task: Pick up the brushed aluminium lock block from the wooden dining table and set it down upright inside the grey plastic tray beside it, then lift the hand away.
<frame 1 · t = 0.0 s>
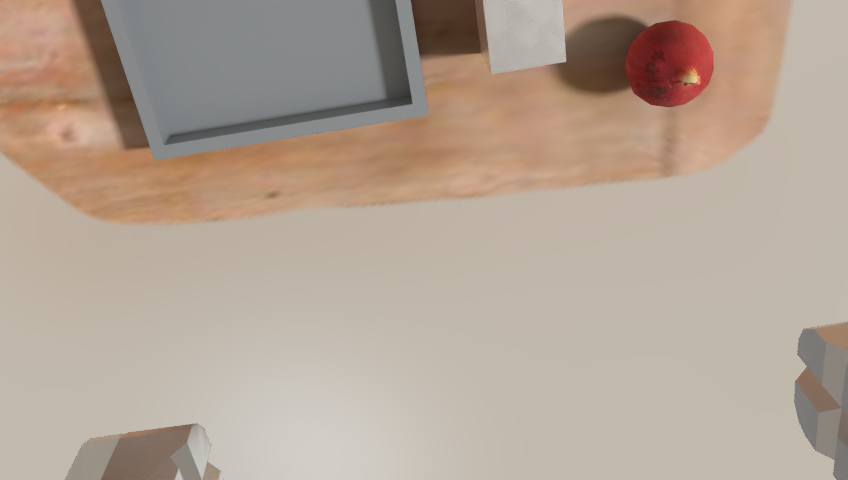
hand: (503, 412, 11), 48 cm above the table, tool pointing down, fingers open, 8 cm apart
onion: (651, 51, 57), on the table
tray: (272, 31, 55), on the table
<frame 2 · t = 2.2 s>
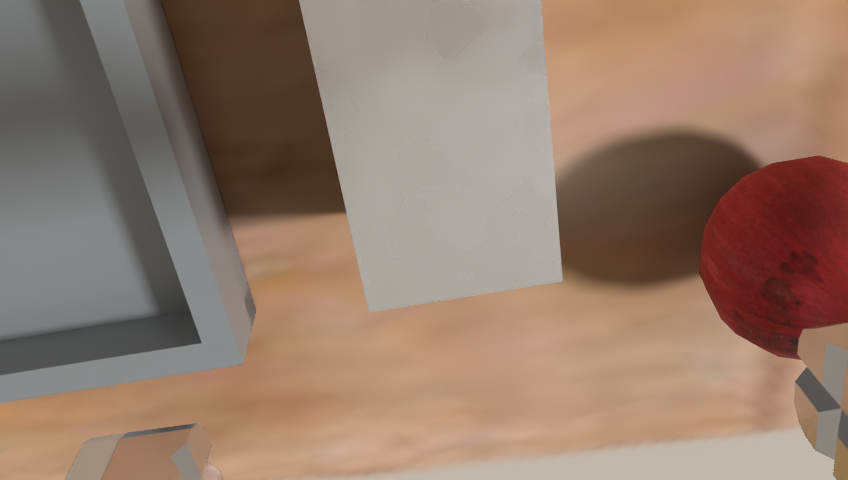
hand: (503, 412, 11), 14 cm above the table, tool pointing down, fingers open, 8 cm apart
onion: (750, 201, 26), on the table
lock block: (427, 77, 23), on the table
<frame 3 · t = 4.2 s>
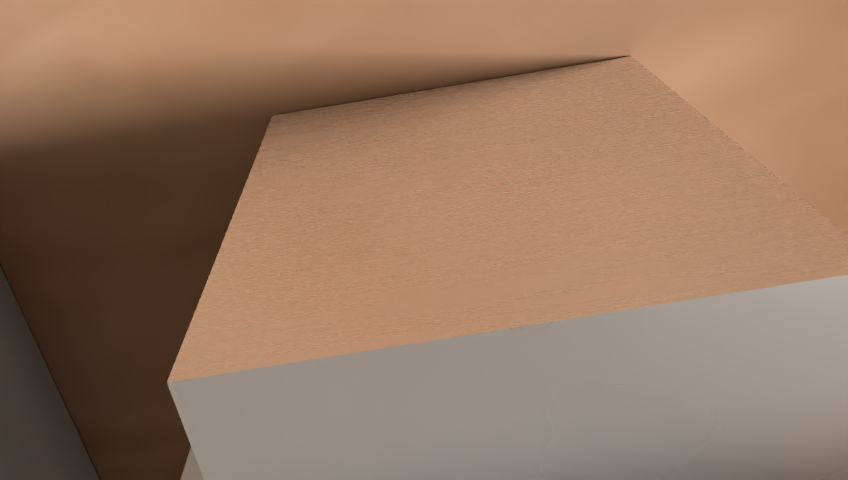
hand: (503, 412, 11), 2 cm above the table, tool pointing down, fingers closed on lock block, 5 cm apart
lock block: (484, 326, 12), on the table, touching gripper
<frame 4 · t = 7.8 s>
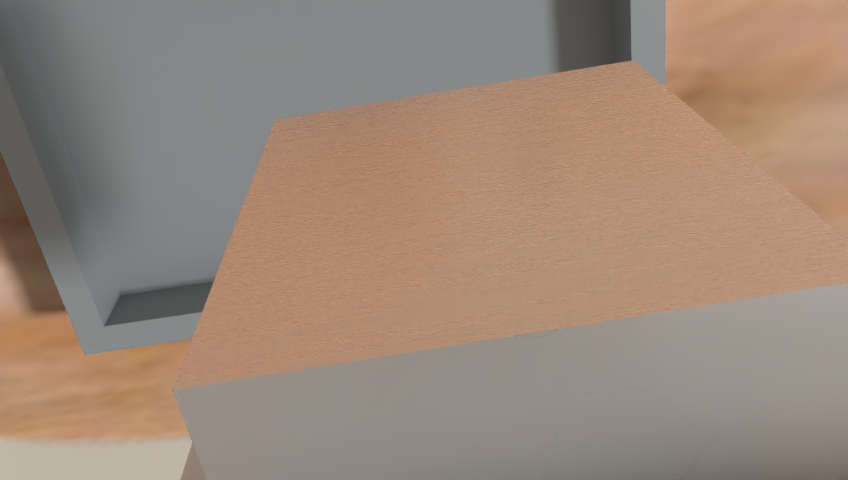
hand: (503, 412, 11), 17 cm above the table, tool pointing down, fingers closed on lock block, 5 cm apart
tray: (338, 89, 26), on the table
lock block: (486, 329, 13), point 15 cm above the table, touching gripper
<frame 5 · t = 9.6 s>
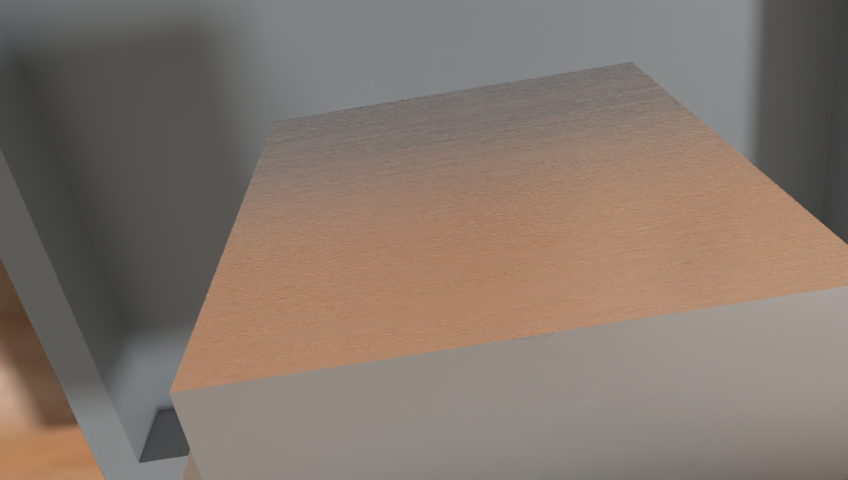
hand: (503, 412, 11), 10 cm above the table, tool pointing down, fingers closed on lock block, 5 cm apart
tray: (448, 142, 19), on the table
lock block: (485, 331, 12), point 8 cm above the table, touching gripper
when the fingers open (5 cm above the table, at t = 11.4 s): lock block drops 1 cm, resting on tray.
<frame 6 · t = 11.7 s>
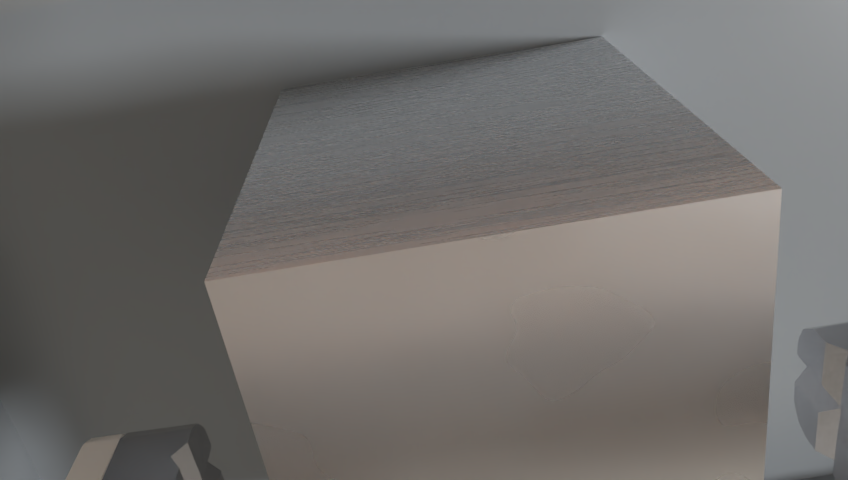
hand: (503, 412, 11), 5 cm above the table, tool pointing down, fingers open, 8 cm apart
tray: (467, 257, 15), on the table
lock block: (472, 283, 14), point 1 cm above the table, touching tray
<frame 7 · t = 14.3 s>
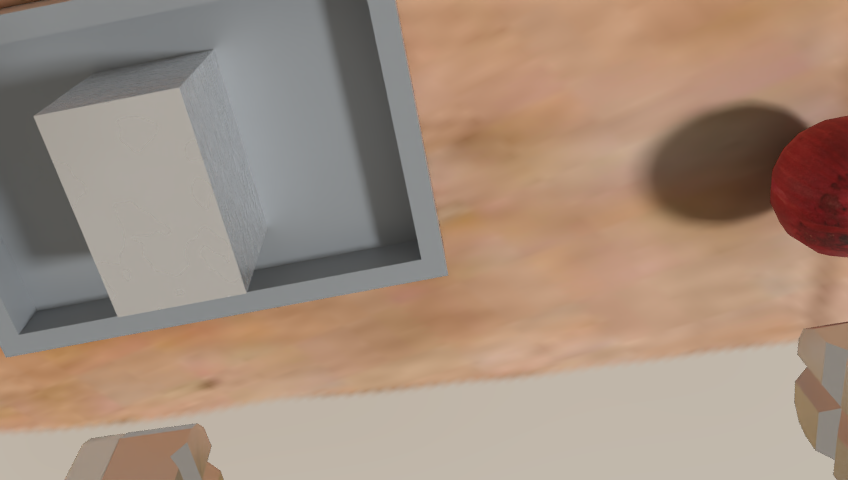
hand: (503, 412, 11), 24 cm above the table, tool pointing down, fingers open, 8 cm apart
onion: (802, 155, 36), on the table
tray: (190, 146, 34), on the table
lock block: (184, 153, 33), point 1 cm above the table, touching tray
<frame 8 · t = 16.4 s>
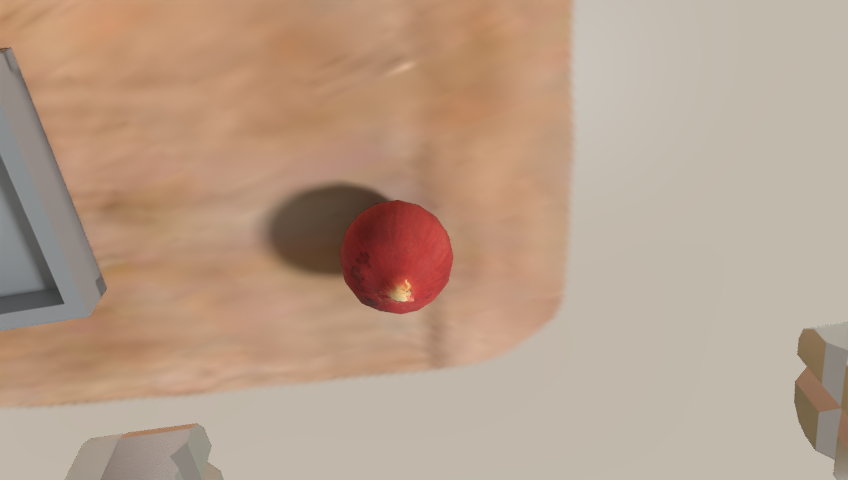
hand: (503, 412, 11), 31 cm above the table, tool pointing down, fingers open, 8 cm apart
onion: (394, 224, 44), on the table
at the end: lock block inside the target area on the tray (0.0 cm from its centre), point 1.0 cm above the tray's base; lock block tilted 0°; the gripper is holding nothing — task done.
